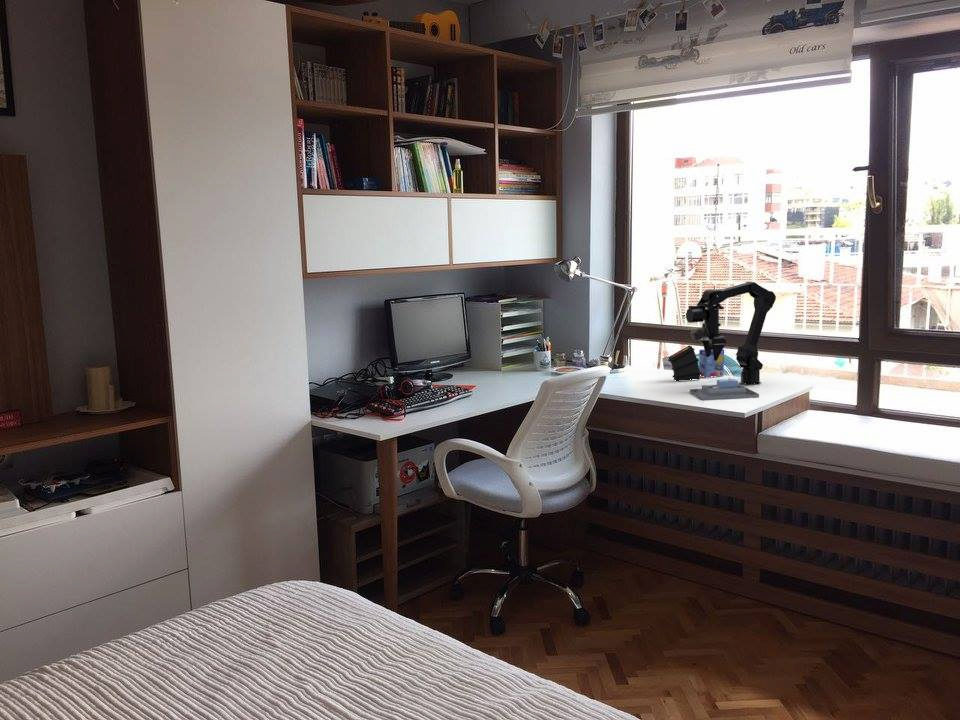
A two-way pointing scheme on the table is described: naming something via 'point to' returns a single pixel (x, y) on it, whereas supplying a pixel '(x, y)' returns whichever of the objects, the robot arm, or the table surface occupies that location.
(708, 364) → the ink cartridge box
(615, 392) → the table surface
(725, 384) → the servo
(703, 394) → the chassis
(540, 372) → the table surface
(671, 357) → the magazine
